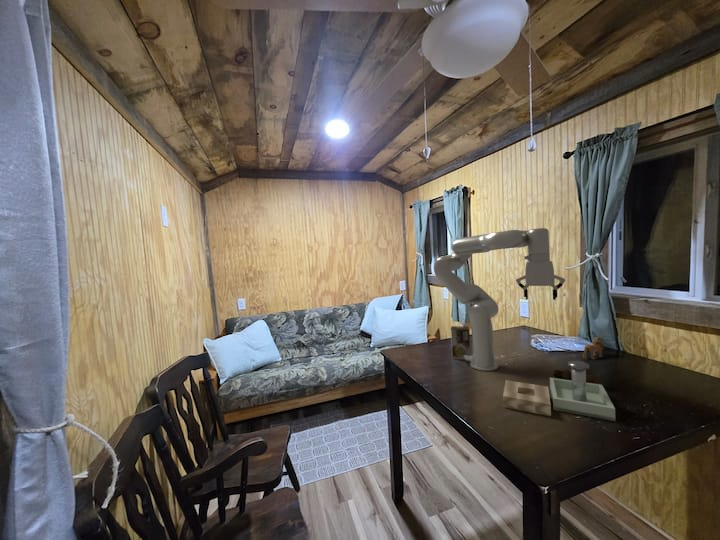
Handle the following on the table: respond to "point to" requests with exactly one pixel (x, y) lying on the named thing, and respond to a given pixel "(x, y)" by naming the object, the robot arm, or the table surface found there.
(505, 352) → the table surface
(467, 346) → the coffee box
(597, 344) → the lion figurine
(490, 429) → the table surface
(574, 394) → the pin
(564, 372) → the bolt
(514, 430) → the table surface
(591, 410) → the tray
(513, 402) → the socket block
